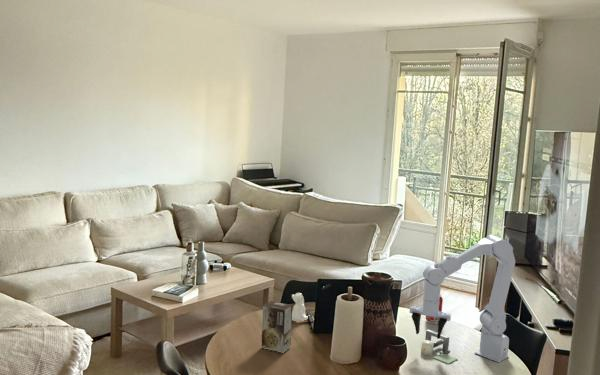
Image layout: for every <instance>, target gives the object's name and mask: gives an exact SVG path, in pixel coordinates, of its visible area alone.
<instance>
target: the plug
mask: <svg viewBox="0 0 600 375" xmlns="http://www.w3.org/2000/svg"><path fill="white" fill-rule="evenodd" d="M439 346H443V340H442V339H439V340H438V341H435V342H433V341H432V340H431V341H429V340H425V339H424V340H421V348H420V352H421V354H422V355H424V356H432V355H433V354H434V348H436V347H437V348H438V347H439Z"/></svg>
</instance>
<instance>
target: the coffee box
mask: <svg viewBox="0 0 600 375" xmlns="http://www.w3.org/2000/svg"><path fill="white" fill-rule="evenodd" d="M292 311H293V304H288V303H282V302H278V301H274V300H270V301H269V302H267V303H266V304H264V305H262V325H261V347H263V348H268V349H271V350H275V351H279V352H285V351H286V350H287V349H288V348H290V349H291V347H292V346H291V344H292V343H291V342H292V324H293V321H292ZM290 346H291V347H290ZM287 351H288V350H287ZM287 351H286V352H287ZM286 352H285V353H286Z"/></svg>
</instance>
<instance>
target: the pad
mask: <svg viewBox="0 0 600 375" xmlns="http://www.w3.org/2000/svg"><path fill="white" fill-rule="evenodd" d="M433 359H435V360H436V361H440V362H441V363H444V364H446V365H450V364H451V363H454V362H455V361H456V362H457V361H458V358H456V357H455V356H452V355H449V354H447V353H446V354H443V353H442V354H438V355H435V356H433Z"/></svg>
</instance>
